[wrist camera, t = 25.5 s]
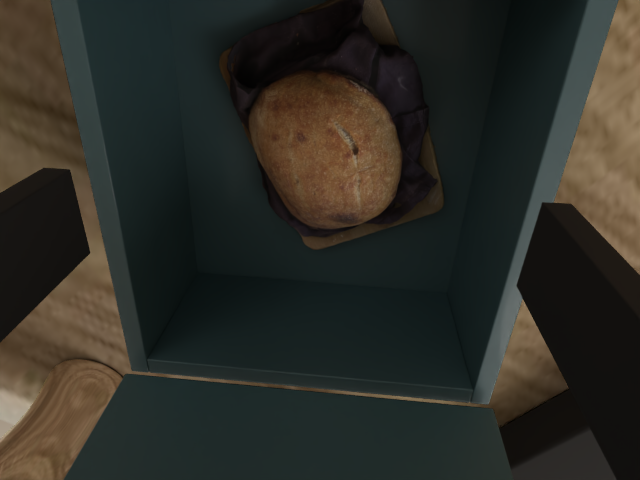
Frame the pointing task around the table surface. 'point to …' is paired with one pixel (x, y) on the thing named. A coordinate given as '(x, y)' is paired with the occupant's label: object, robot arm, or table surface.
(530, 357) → the table surface
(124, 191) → the bread box
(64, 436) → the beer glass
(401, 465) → the bread box lid
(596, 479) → the external hard drive
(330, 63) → the bread roll
